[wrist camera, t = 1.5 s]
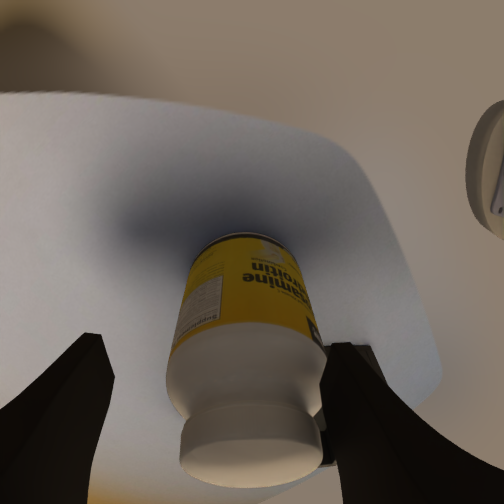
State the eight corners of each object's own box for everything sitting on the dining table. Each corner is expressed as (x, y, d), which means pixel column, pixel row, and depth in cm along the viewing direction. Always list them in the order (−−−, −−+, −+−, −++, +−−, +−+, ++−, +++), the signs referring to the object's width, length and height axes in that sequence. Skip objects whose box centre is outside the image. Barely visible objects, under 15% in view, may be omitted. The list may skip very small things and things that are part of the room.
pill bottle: (312, 299, 20) (362, 471, 9) (219, 331, 21) (212, 500, 10) (276, 209, 17) (330, 394, 6) (169, 252, 18) (110, 438, 7)
